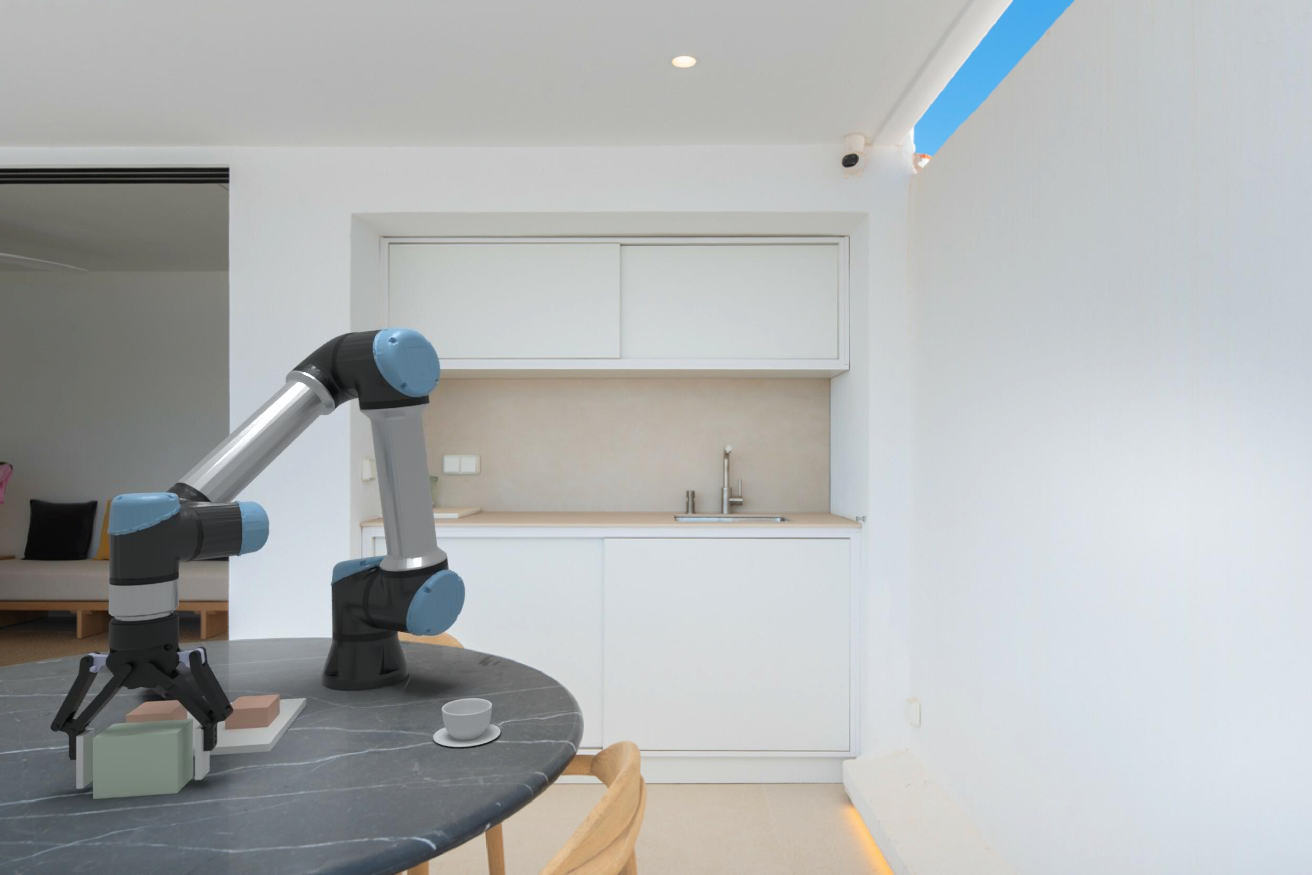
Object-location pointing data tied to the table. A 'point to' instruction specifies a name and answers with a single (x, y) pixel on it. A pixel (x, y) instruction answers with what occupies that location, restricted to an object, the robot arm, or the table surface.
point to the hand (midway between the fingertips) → (144, 779)
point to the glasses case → (188, 677)
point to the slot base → (254, 734)
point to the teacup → (466, 723)
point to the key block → (143, 758)
